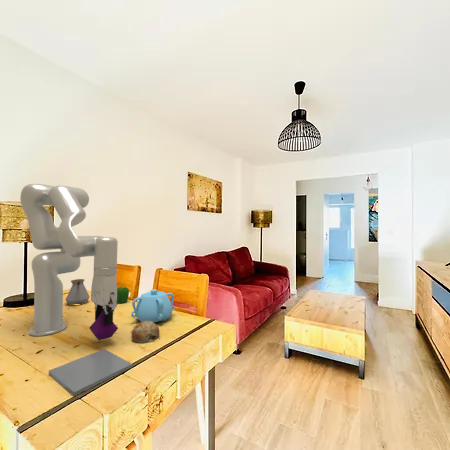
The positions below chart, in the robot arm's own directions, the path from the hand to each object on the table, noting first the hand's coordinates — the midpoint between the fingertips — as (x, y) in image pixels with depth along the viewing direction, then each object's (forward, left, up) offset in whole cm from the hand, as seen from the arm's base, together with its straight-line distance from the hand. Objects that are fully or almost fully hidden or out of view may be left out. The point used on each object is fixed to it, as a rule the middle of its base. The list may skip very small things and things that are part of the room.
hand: (103, 321), depth 89 cm
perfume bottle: (0, 0, -6) cm, 6 cm away
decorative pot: (-5, +26, -8) cm, 28 cm away
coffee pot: (-55, +15, -8) cm, 58 cm away
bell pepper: (-42, +33, -8) cm, 54 cm away
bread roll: (+7, +12, -8) cm, 16 cm away
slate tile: (+14, -11, -8) cm, 19 cm away
